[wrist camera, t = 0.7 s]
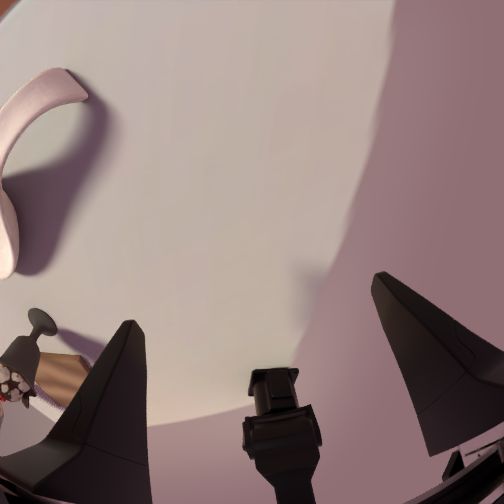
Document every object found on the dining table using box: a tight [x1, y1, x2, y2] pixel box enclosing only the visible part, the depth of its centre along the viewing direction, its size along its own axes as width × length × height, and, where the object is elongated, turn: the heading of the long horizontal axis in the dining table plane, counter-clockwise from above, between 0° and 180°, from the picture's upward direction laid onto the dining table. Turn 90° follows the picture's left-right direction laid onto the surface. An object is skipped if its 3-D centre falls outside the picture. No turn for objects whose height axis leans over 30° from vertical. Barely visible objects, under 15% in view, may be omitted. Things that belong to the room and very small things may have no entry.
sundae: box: [0, 308, 57, 408], centre depth 20 cm, size 7×7×15 cm
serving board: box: [35, 352, 90, 407], centre depth 33 cm, size 16×16×1 cm
